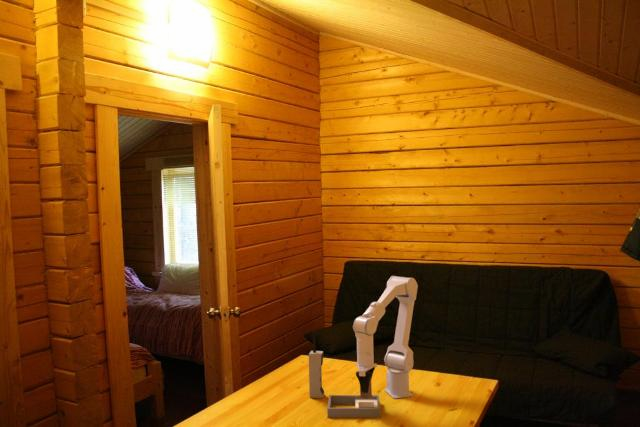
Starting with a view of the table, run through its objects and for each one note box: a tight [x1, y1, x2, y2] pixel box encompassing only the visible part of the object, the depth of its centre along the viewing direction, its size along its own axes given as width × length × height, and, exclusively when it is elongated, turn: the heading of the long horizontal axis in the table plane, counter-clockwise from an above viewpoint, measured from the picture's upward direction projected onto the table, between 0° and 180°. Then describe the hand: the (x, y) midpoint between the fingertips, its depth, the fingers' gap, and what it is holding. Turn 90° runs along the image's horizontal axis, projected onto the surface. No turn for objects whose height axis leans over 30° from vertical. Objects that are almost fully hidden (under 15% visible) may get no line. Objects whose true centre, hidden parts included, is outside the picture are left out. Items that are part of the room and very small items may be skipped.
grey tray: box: [326, 394, 382, 419], centre depth 182 cm, size 18×12×3 cm, turn 86°
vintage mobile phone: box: [308, 330, 325, 399], centre depth 195 cm, size 4×5×25 cm
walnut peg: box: [359, 371, 373, 398], centre depth 181 cm, size 4×4×8 cm
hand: (366, 389), depth 181 cm, fingers closed on walnut peg, 4 cm apart
